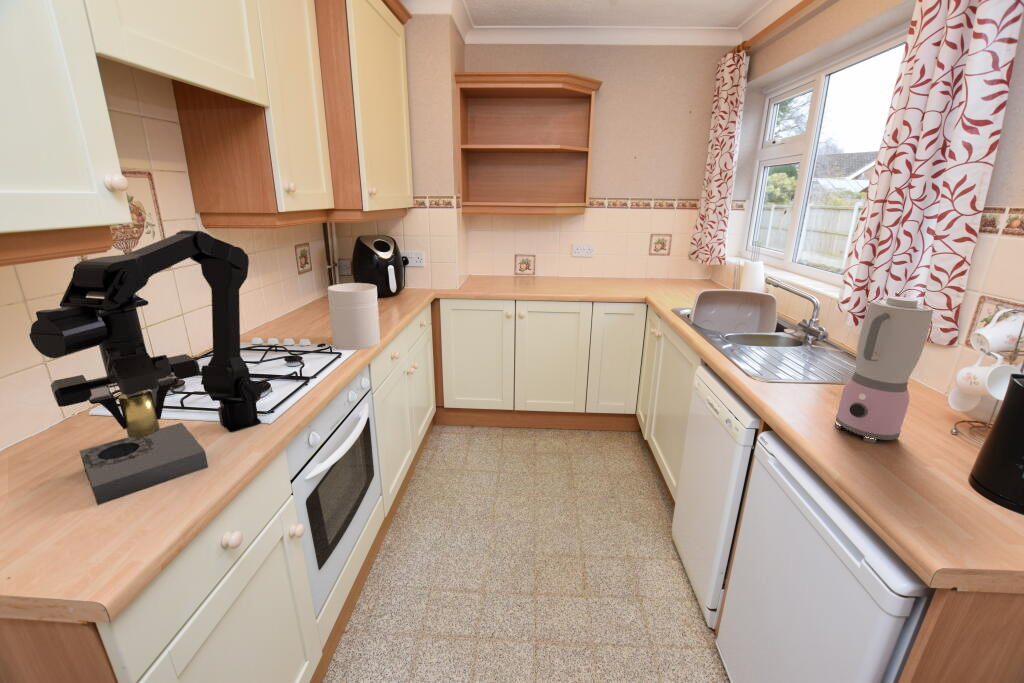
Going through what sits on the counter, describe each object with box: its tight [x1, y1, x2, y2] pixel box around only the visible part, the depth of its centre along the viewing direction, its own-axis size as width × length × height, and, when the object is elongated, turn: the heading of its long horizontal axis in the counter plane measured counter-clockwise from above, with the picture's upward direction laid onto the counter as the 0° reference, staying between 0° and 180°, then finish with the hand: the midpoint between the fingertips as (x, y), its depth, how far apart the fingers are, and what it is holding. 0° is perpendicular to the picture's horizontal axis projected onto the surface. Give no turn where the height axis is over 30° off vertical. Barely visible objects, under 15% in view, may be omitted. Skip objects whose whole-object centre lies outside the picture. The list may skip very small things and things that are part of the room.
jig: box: [79, 422, 209, 506], centre depth 86 cm, size 16×16×4 cm
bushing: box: [117, 390, 161, 438], centre depth 79 cm, size 4×4×7 cm
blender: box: [834, 296, 934, 444], centre depth 103 cm, size 16×12×32 cm
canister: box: [327, 282, 381, 351], centre depth 160 cm, size 16×16×20 cm
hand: (141, 423), depth 80 cm, fingers closed on bushing, 4 cm apart
